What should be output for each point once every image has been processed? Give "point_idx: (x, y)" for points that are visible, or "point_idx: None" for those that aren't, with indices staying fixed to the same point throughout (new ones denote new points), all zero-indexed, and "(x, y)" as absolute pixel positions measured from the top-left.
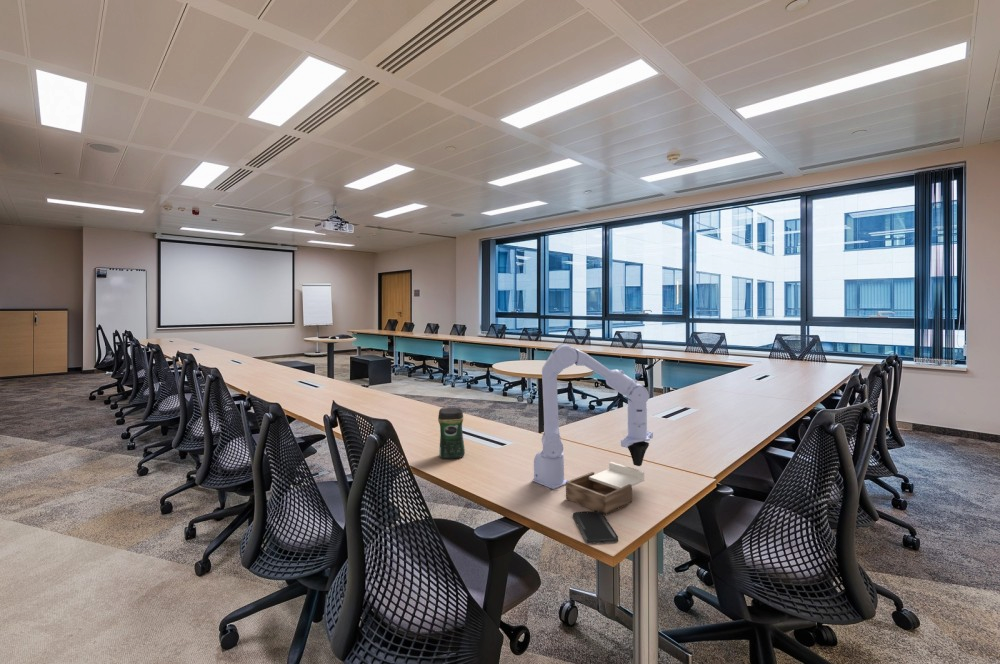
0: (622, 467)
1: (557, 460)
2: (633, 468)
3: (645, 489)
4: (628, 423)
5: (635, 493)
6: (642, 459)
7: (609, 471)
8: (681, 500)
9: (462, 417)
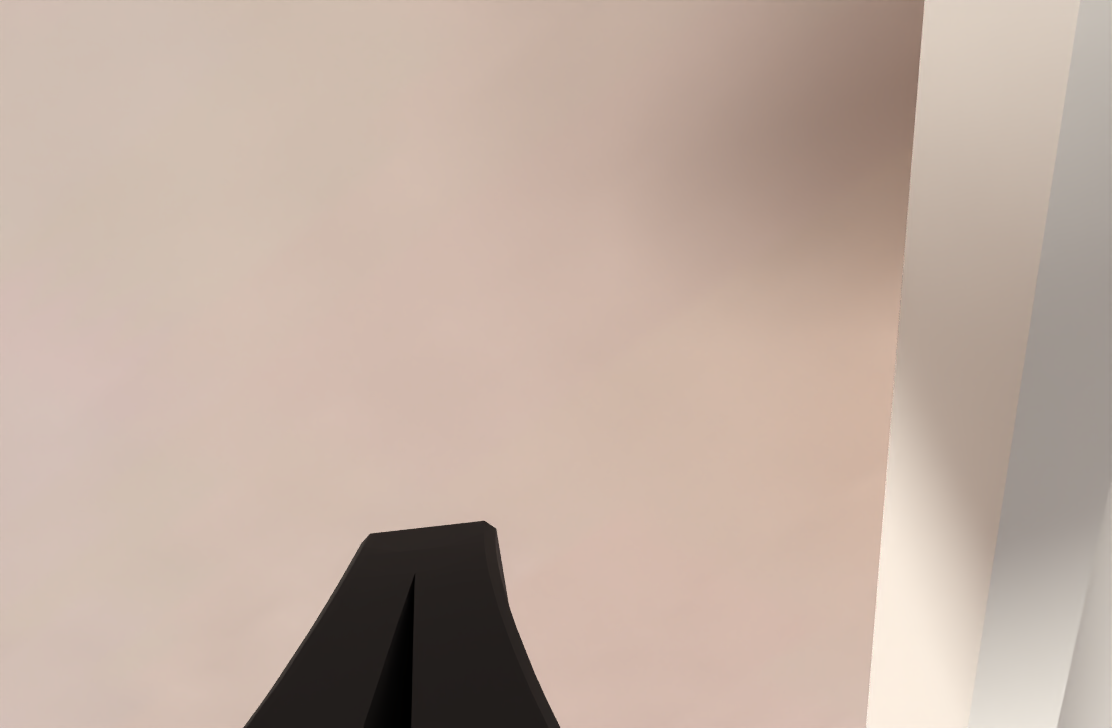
0: (1059, 638)
1: None
2: (1025, 407)
3: (612, 41)
4: None
5: None
6: (337, 647)
7: (1096, 713)
8: None
9: None
